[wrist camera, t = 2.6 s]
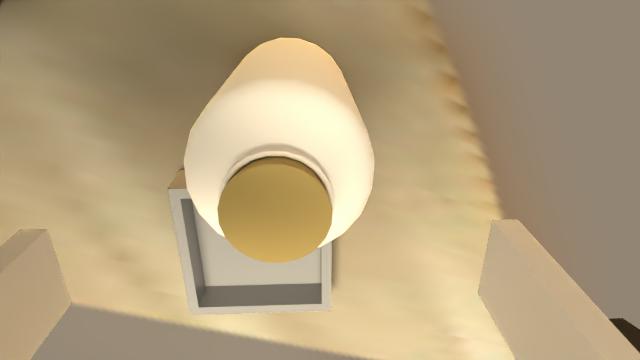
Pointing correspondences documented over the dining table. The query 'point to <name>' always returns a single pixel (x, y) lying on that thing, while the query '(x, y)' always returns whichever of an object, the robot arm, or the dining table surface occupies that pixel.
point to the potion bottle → (280, 154)
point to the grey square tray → (242, 269)
